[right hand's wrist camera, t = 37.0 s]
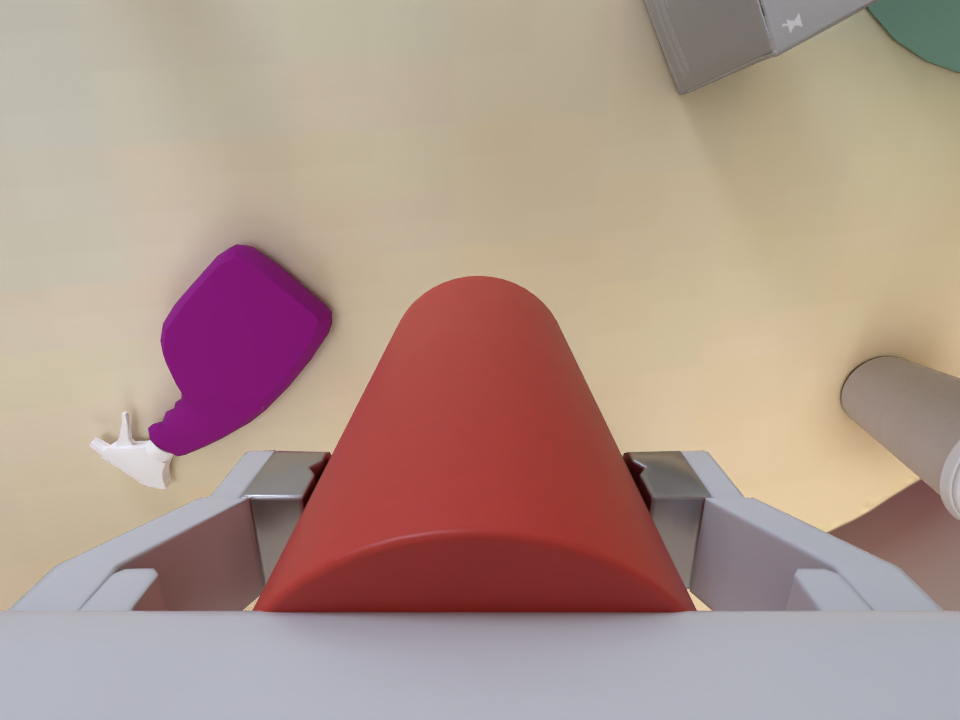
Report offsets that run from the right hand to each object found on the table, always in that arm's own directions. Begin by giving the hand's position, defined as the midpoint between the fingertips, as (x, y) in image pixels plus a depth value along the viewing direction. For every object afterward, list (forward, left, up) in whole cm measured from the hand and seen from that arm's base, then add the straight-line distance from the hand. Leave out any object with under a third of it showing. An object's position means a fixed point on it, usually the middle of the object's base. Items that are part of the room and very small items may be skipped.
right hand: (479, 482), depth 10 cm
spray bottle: (+14, -22, -35) cm, 44 cm away
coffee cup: (+10, +36, -35) cm, 51 cm away
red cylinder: (0, 0, -7) cm, 7 cm away
